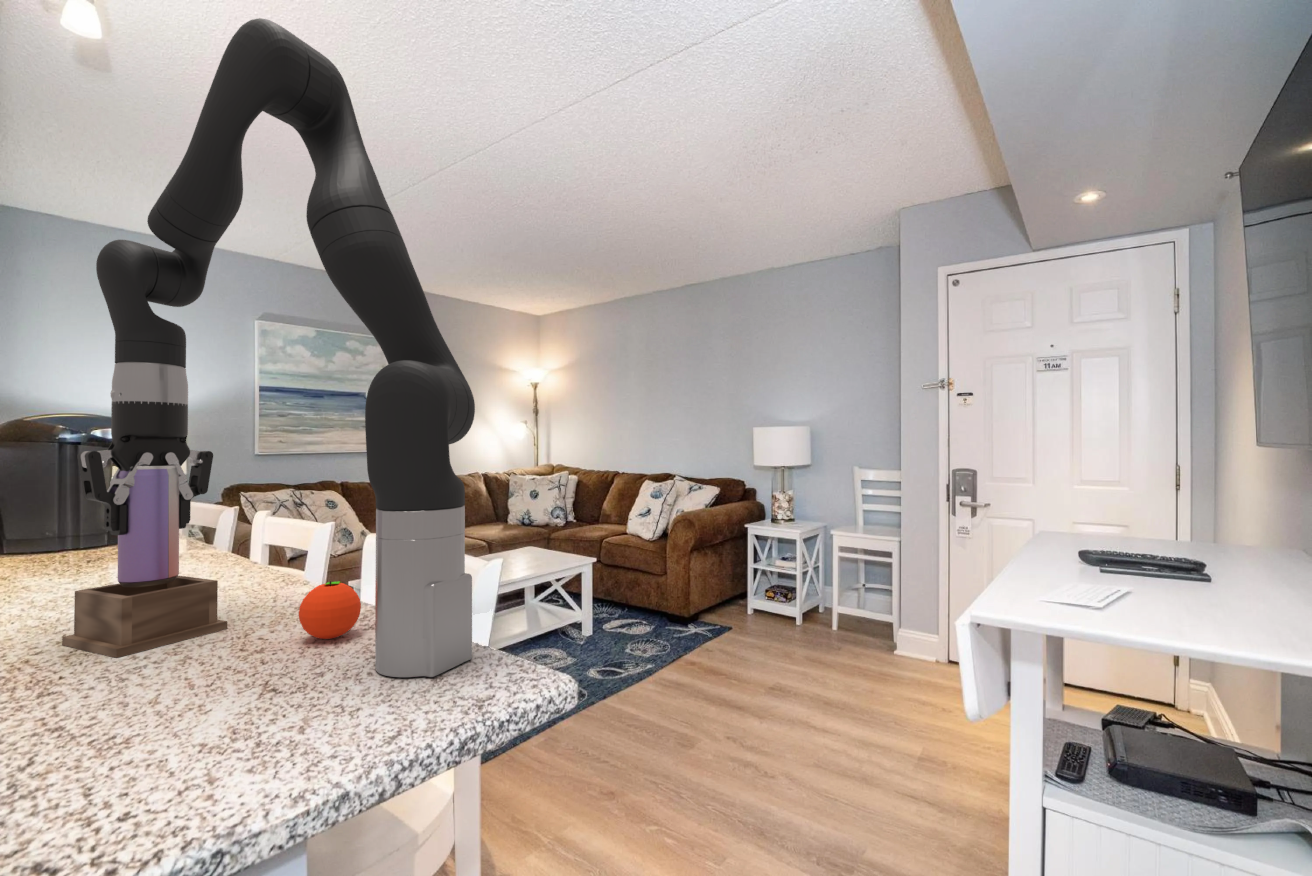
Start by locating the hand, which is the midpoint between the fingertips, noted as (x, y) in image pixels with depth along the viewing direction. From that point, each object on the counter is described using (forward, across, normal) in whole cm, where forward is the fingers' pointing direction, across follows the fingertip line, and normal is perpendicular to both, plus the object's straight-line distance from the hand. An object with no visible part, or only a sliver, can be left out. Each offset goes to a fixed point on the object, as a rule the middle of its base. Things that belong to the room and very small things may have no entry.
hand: (149, 531), depth 76 cm
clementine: (+14, +9, -22) cm, 27 cm away
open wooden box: (+13, 0, 0) cm, 13 cm away
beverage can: (+7, 0, 0) cm, 7 cm away
